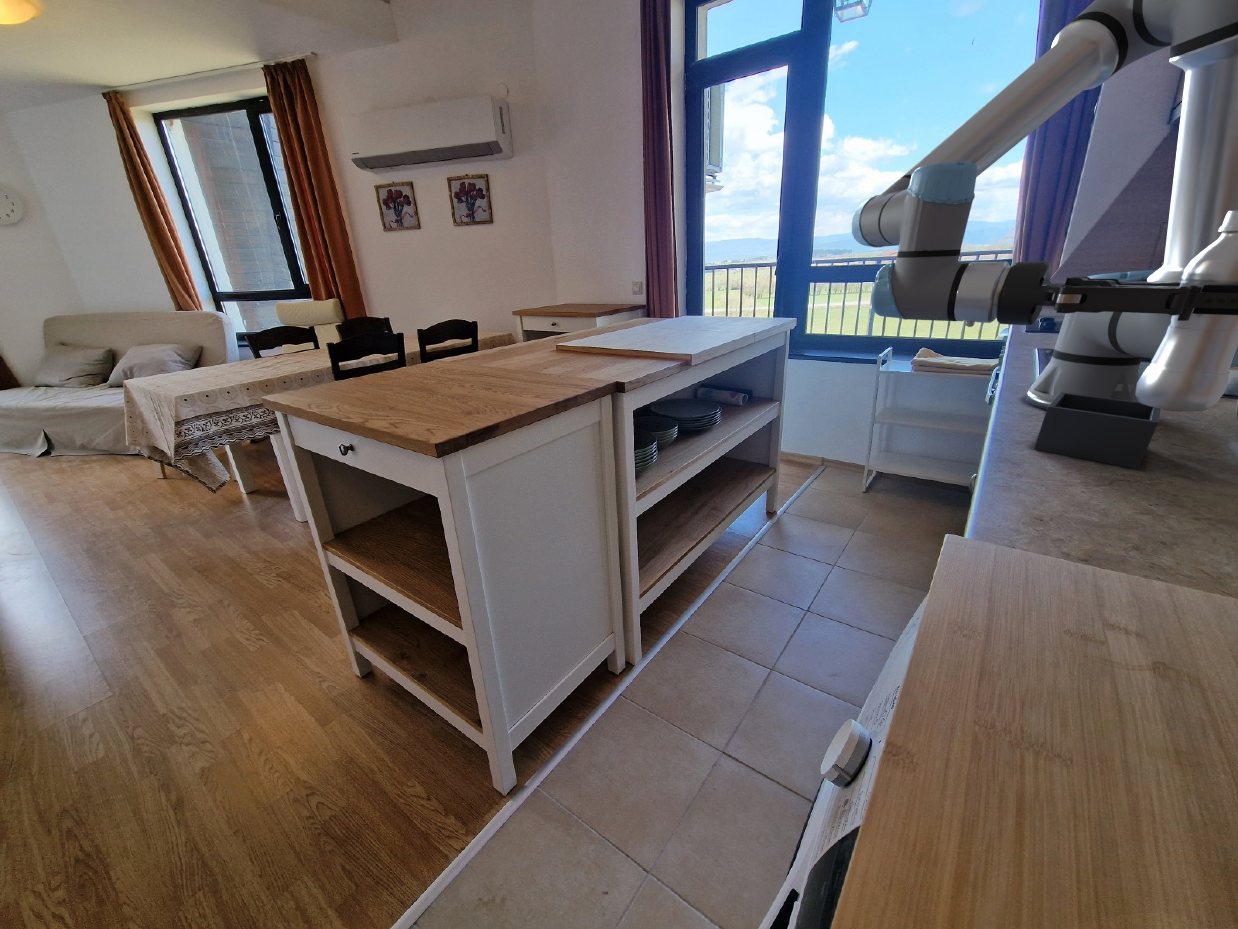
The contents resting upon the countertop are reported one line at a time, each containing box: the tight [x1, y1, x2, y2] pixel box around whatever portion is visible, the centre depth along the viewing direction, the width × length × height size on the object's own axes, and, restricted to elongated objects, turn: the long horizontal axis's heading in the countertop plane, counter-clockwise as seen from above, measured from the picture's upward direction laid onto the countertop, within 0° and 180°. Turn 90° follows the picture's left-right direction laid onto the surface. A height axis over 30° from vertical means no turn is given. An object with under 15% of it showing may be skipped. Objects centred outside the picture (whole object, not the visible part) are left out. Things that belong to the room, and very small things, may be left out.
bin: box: [1033, 392, 1162, 470], centre depth 69 cm, size 11×11×6 cm
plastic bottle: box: [1135, 211, 1238, 412], centre depth 50 cm, size 6×7×20 cm
